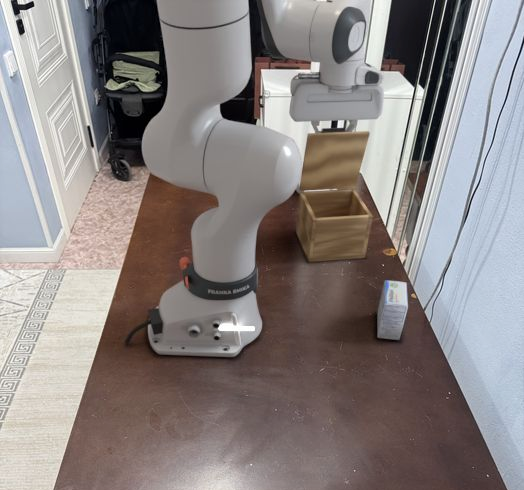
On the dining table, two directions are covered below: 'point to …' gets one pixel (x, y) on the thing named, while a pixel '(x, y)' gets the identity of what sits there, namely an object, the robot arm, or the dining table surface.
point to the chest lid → (333, 159)
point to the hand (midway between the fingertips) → (332, 139)
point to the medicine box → (392, 310)
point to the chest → (333, 225)
